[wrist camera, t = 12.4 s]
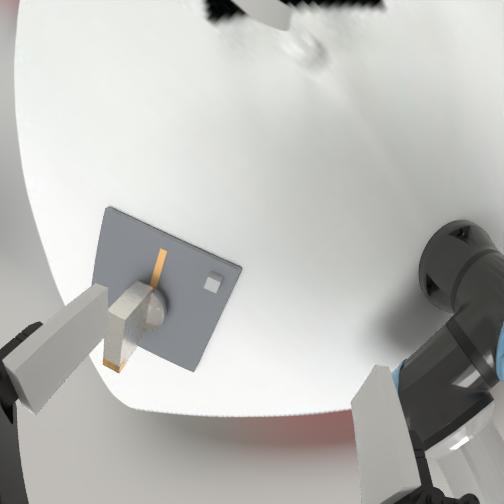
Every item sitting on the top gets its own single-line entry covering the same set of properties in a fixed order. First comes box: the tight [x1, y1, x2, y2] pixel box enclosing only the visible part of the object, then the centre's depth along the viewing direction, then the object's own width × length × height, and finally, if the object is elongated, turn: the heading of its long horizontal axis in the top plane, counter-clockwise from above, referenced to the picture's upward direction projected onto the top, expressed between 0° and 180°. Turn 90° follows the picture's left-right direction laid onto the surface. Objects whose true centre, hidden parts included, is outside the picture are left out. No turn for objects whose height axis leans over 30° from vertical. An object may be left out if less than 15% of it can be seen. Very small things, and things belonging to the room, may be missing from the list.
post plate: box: [92, 207, 242, 372], centre depth 47 cm, size 24×24×3 cm
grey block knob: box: [103, 280, 167, 373], centre depth 40 cm, size 11×8×11 cm
